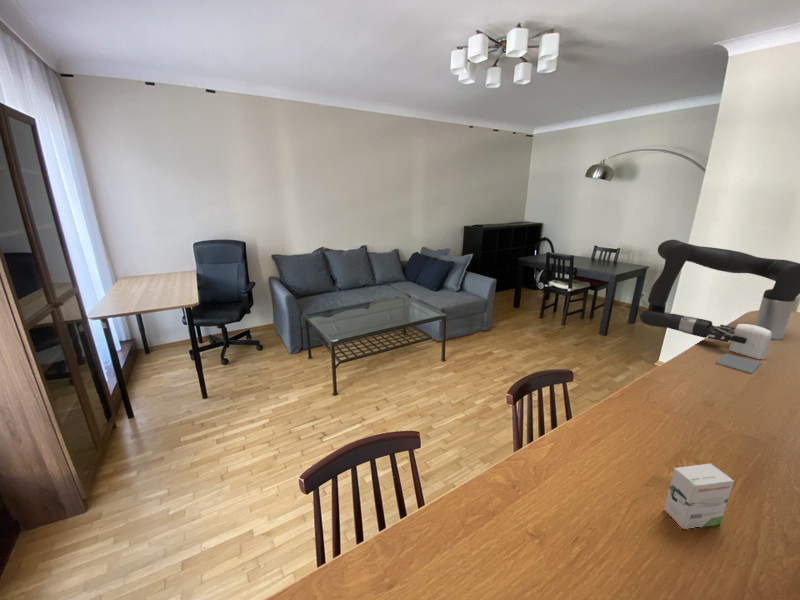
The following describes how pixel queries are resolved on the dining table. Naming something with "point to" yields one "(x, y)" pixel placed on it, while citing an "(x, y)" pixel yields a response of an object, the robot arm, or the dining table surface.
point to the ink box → (698, 495)
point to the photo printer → (751, 341)
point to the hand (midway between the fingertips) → (748, 338)
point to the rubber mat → (738, 363)
